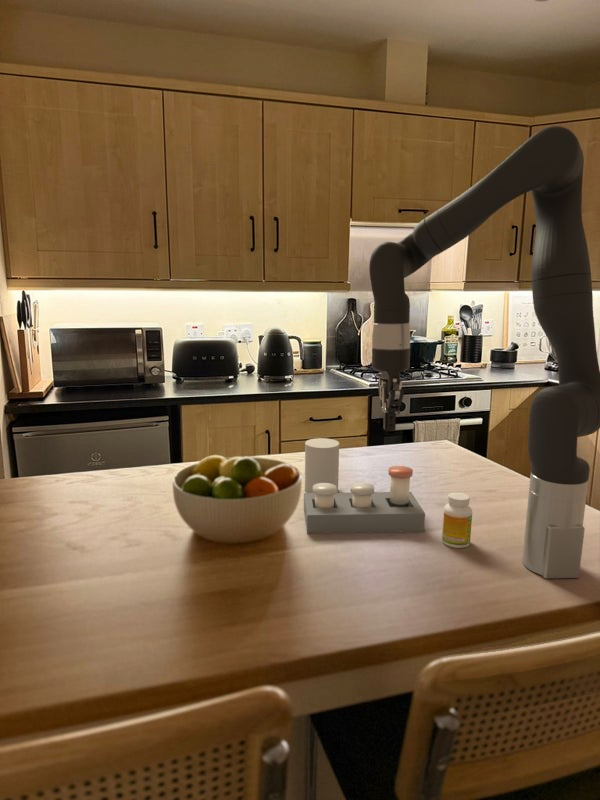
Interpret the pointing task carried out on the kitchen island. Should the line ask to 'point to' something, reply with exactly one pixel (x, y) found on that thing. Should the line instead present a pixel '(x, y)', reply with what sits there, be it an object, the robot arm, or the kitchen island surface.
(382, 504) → the panel
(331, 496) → the far plunger
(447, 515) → the supplement bottle
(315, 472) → the white cylinder
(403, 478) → the red plunger
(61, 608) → the kitchen island surface
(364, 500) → the mid plunger
